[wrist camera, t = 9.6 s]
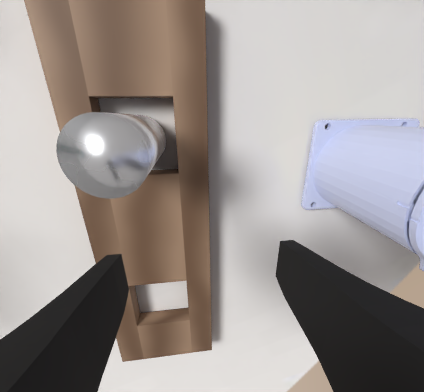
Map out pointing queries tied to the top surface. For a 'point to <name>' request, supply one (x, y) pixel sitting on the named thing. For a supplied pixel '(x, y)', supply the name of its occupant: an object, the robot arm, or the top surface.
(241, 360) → the top surface
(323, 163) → the robot arm
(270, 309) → the top surface
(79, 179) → the steel rod
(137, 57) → the walnut board
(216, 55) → the top surface
